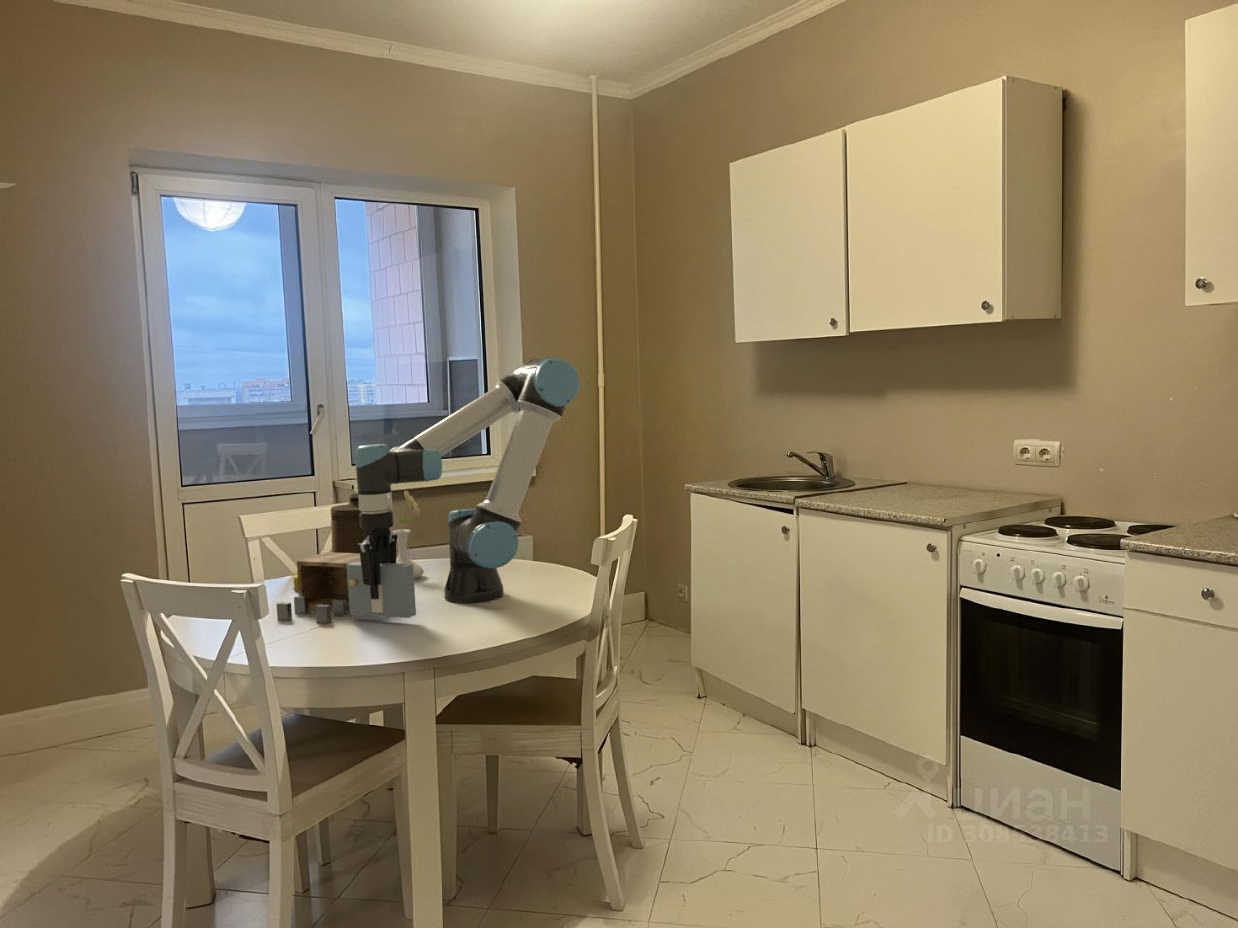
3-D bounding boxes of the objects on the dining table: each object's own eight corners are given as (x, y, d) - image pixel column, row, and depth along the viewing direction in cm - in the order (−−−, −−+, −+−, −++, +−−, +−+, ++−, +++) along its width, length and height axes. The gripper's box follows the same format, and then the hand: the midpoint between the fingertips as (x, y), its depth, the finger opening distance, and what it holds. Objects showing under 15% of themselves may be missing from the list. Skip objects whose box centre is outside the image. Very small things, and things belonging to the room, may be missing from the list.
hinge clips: (347, 614, 227) (346, 598, 227) (327, 623, 220) (326, 606, 219) (298, 611, 232) (297, 595, 231) (277, 619, 224) (276, 603, 224)
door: (416, 614, 219) (412, 563, 217) (406, 619, 215) (403, 567, 213) (357, 611, 224) (353, 562, 222) (346, 616, 220) (343, 565, 218)
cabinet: (388, 600, 241) (385, 554, 240) (361, 612, 229) (358, 564, 228) (328, 596, 246) (326, 552, 245) (299, 608, 235) (296, 561, 234)
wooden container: (370, 558, 299) (367, 489, 297) (391, 564, 288) (387, 493, 285) (325, 564, 290) (321, 494, 287) (345, 572, 278) (341, 498, 276)
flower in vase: (411, 584, 260) (407, 494, 257) (375, 582, 263) (371, 493, 261) (434, 574, 272) (430, 488, 269) (399, 572, 275) (395, 488, 273)
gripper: (380, 505, 226) (387, 600, 228) (341, 516, 211) (348, 618, 213) (408, 505, 224) (414, 602, 226) (370, 516, 208) (377, 619, 211)
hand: (382, 609), depth 220 cm, fingers closed on door, 3 cm apart
